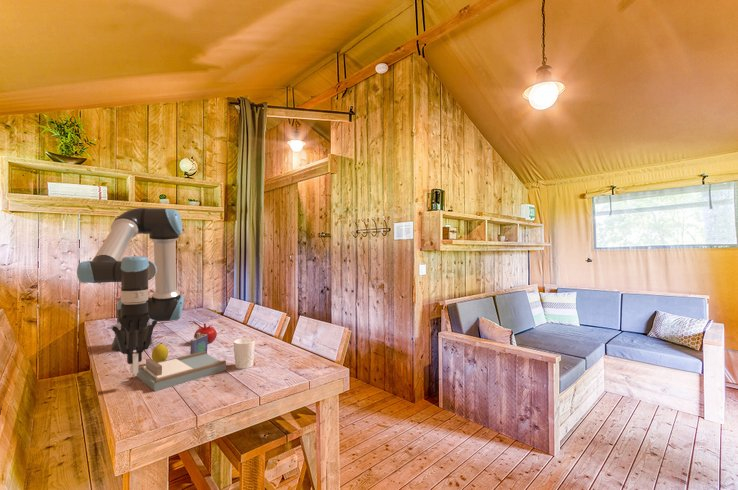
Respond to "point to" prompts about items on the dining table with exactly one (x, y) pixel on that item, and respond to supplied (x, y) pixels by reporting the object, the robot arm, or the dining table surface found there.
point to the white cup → (244, 352)
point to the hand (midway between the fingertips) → (134, 372)
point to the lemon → (159, 353)
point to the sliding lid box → (197, 361)
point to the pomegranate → (207, 332)
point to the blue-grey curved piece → (199, 343)
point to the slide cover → (165, 368)
